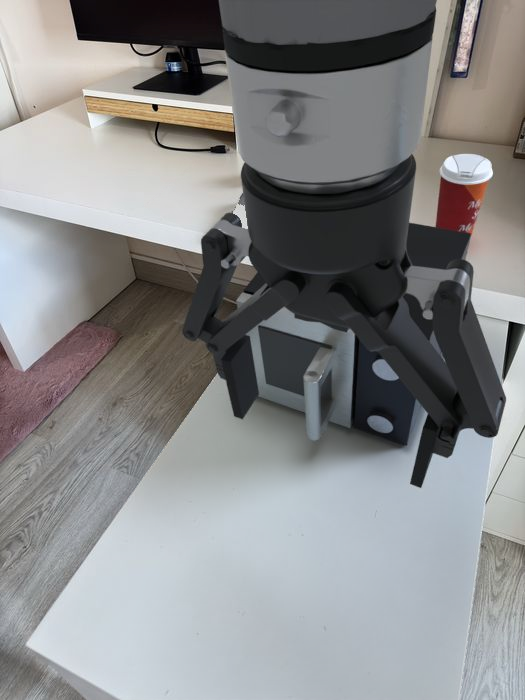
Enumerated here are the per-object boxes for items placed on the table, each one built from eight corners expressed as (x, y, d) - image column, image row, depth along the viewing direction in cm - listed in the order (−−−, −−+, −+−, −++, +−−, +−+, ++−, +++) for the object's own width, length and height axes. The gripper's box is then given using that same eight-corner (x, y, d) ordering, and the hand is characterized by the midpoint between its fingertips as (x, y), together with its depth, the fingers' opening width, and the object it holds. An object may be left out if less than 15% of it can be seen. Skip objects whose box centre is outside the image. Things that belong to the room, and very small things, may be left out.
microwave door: (334, 463, 63) (334, 369, 50) (233, 425, 68) (210, 332, 56) (354, 419, 67) (360, 322, 54) (257, 386, 73) (242, 292, 60)
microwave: (404, 452, 63) (423, 354, 50) (251, 398, 71) (233, 302, 59) (447, 334, 76) (471, 233, 63) (313, 300, 85) (310, 204, 72)
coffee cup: (473, 258, 88) (493, 178, 77) (424, 251, 91) (437, 173, 80) (477, 231, 93) (496, 153, 83) (431, 226, 96) (444, 149, 85)
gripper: (53, 153, 24) (160, 416, 39) (678, 266, 14) (499, 556, 30) (147, 94, 28) (210, 352, 44) (676, 150, 19) (520, 455, 34)
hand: (327, 435), depth 37 cm, fingers open, 13 cm apart
